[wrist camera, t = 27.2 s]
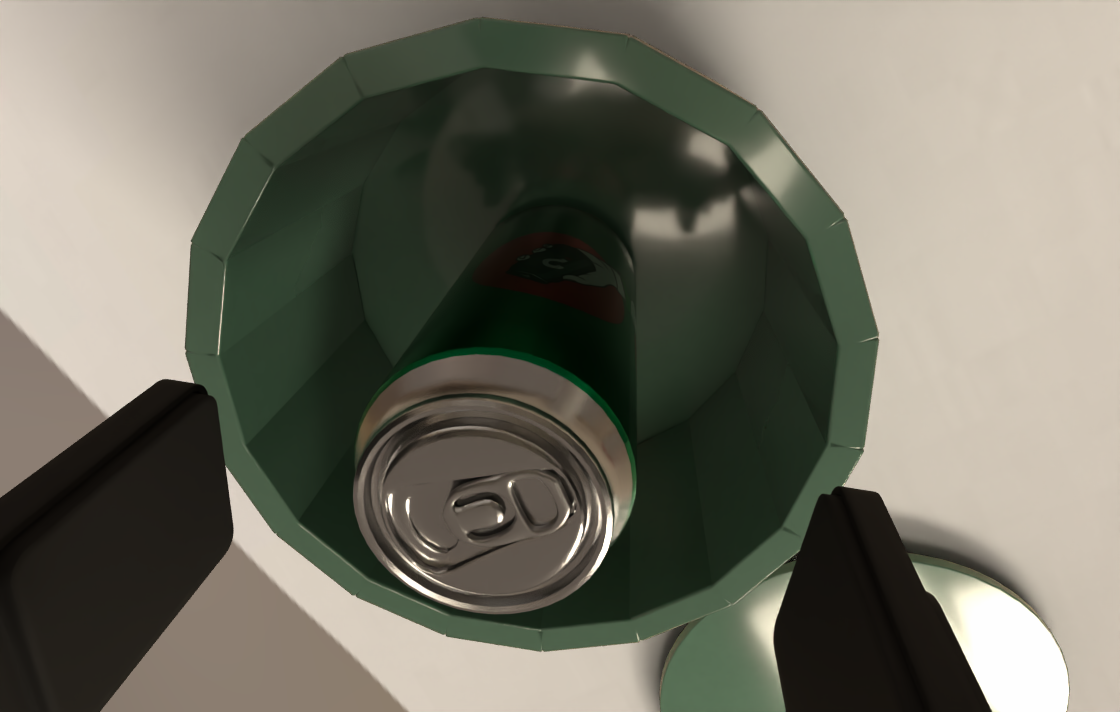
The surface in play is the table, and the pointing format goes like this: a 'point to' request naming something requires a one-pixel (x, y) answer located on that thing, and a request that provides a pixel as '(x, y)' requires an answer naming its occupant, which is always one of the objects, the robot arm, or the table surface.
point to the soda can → (509, 422)
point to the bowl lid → (964, 594)
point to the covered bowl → (454, 238)
